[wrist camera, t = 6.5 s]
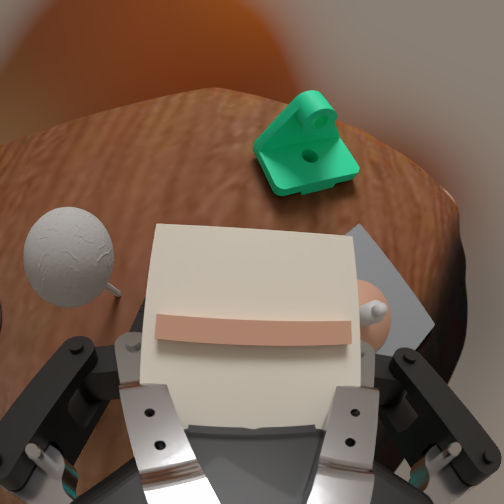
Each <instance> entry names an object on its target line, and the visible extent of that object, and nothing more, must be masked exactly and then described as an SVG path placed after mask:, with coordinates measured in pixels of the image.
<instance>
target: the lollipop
mask: <svg viewBox="0 0 504 504" xmlns="http://www.w3.org/2000/svg"><path fill="white" fill-rule="evenodd" d="M113 262H114V253H113V246H112V242H111V239H110V236H109V234H108V232H107V230H106V228H105V227H104V225H103V224H102V223H101V222H100V221H99V220H98V219H97V218H96V217H95V216H94V215H92V214H91V213H89V212H87V211H85V210H82V209H79V208H75V207H62V208H56V209H54V210H52V211H50V212H48V213H46V214H45V215H43V216H42V217H41V218H40V219H39V220H38V221H37V222H36V223H35V224H34V226H33V227H32V228H31V230H30V231H29V234H28V236H27V238H26V241H25V246H24V268H25V272H26V275H27V278H28V280H29V282H30V284H31V286H32V287H33V289H34V290H35V291H36V292H37V293H38V294H39V295H40V296H41V297H42V299H44V300H46V301H47V302H49V303H51V304H54V305H56V306H60V307H68V308H71V307H78V306H81V305H84V304H87V303H89V302H91V301H92V300H94V299H95V298H96V297H98V296H99V295H100V294H101V292H102V291H103V290H104V288H105V289H106V290H108V291H109V292H111V293H112V294H114V295H115V296H117V297H120V296H121V292H120V291H119V290H118V289H116V288H115V287H114V286H112V285H111V284H109V283H108V282H109V279H110V277H111V274H112V269H113Z"/></svg>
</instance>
